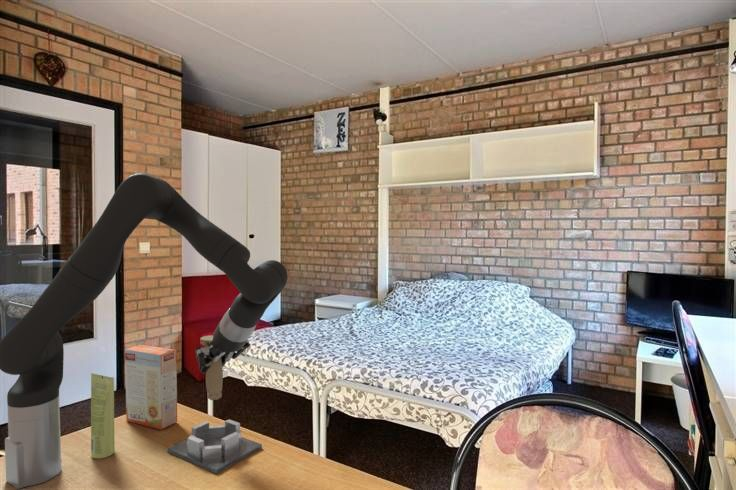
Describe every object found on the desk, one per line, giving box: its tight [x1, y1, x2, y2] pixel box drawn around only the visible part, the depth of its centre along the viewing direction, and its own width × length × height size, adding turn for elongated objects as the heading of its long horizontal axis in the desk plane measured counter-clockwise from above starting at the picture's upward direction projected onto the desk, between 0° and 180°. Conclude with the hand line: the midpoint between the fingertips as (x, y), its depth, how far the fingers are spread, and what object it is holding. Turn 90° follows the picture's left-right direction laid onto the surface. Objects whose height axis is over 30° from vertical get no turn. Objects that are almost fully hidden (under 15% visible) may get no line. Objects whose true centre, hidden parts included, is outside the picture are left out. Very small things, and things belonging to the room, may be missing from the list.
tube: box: [90, 372, 116, 459], centre depth 110 cm, size 6×5×20 cm
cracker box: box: [124, 344, 178, 431], centre depth 128 cm, size 14×6×21 cm, turn 65°
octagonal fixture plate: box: [166, 419, 263, 475], centre depth 113 cm, size 14×18×5 cm
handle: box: [199, 335, 224, 401], centre depth 112 cm, size 5×6×15 cm
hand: (210, 368), depth 113 cm, fingers closed on handle, 3 cm apart
